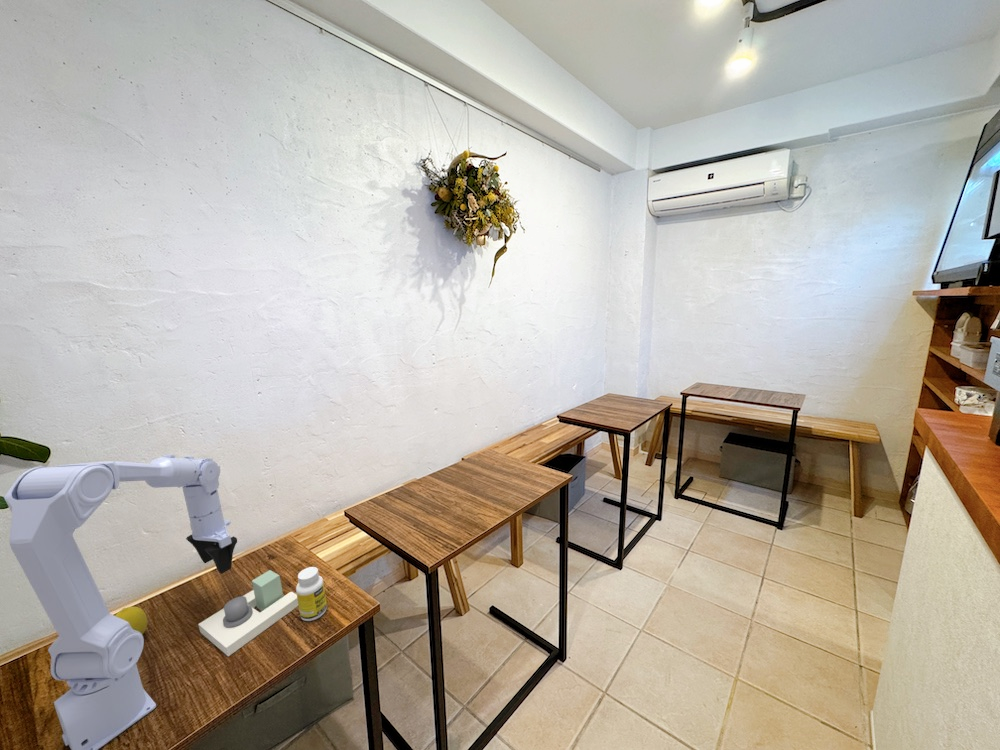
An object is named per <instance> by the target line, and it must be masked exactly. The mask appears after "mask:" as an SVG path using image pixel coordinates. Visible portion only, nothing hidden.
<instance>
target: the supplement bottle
mask: <svg viewBox="0 0 1000 750" xmlns="http://www.w3.org/2000/svg"><path fill="white" fill-rule="evenodd" d="M297 579H298V583H297V584H296V586H295V594H297V599H298V606H297V607H298V610H299V616H300V619H301V620H302V621H305V622H311V621H315V620H317V619H319V618H321V617H322V616H323V615H324V614H325V613H326V611H327V608H328V602H327V596H326V590H325V584H324V579H323V577H322V576H321V575H320V572H319V568H317V567H316V566H309V567H306V568H303V569H302V570H301V571H299V572H298V574H297Z"/></svg>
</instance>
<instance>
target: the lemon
mask: <svg viewBox="0 0 1000 750" xmlns="http://www.w3.org/2000/svg"><path fill="white" fill-rule="evenodd" d="M114 616H116V617H118V618H121V619H123V620H125V621H127V622H129V624H130V626H131V628H132V629H133V630H136V631H139V632H140V633H141V634H142V635H143V634H144V633H145V631H146V629H147V625H148V617H147V614H146V612H145V611H144V610H143V609H142V608H141V607H138V606H127V607H124V608H122V609H121V610H119V611H118V612H117V613H116V614H115V615H114Z"/></svg>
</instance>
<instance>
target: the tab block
mask: <svg viewBox="0 0 1000 750" xmlns="http://www.w3.org/2000/svg"><path fill="white" fill-rule="evenodd" d="M251 584H252V590H254V595H255V600H256V605H257V606H256V608H257V609H258V610H259V611H260V612H262V611H263V610H265V609H266V608H268V607H269V606H270V605H272V604H273V603H275V602H276V601H278V600H279V599H281V598H282V597H284V592H283V587H282V582H281V576H280V574H278V573H276V572H275V571H272V570H271V569H269V570H267V571H265V572H264V573H262V574H261V575H259V576H257V577H256V578H254V579H252V580H251Z"/></svg>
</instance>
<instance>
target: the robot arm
mask: <svg viewBox="0 0 1000 750" xmlns="http://www.w3.org/2000/svg"><path fill="white" fill-rule="evenodd" d="M194 457H195V456H191V455H190V456H189V455H188V456H184V458H183V457H181V458H180V457H176V454H163V455H162V456H161V457H157V458H155V459H153V460H151V461H150V462H149V463H147V462H134V461H120V460H110V461H109V460H108V461H107V460H106V461H92V462H91V461H90V462H81V463H71V464H60V465H56V466H45V465H44V466H37V467H32V468H30V469H28V470H26V471H24V472H23V473H22V474H20V475H19V476H18V477H17V478H16V480H14V482H13V484H12V485H11V487H9V489H8V491H7V492H6V493H5V495H4V497H3V499H4V501H5V502H6V504H7V506H8V508H9V510H10V513H11V514H10V515H11V518H10V532H9V545H10V549H11V550H12V552H13V554H14V556H15V558H16V559H17V562H18V564H19V565H20V567H21V569H22V571H23V573H24V575H25V577H26V578H27V580H28V581H29V583H30V585H31V588H32V589H33V590H34V593H35V595H36V597H37V599H38V600H39V601H40V604H41V606H42V607H43V610H44V611H45V613H46V615H47V616H48V618H49V620H50V622H51V624H52V625H53V628H54V630H55V631H56V633H57V635H58V636H57V638H56V639H55V640H54V641H53V642H52V643H51V645H50V646H49V647H48V649H47V652H48V653H49V655H50V659H51V662H50V675H51V676H52V678H53V679H55V680H56V681H66V683H67V686H68V688H69V690H67V691H66V692H65V693H64V694H63V695H61V696H60V697H58V698H57V699H55V700H54V701H53V705H54V708H55V711H56V714H57V717H58V720H59V723H60V724H59V725H60V727H61V729H62V732H63V734H62V735H61V737H62V740H63V743H64V744H65V746H66V747H67V746H69V748H70V750H99V749H101V748H102V747H103V746H105V745H106V744H108V743H109V742H110V741H112V740H113V739H115V738H116V737H117V736H119V735H120V734H121V733H123V732H124V731H126V730H127V729H128V728H130V727H131V726H133V725H134V724H135V723H137V722H138V721H140V720H141V719H143V718H144V717H145V716H146V715H148V714H149V713H151V712H152V711H153V710H155V708H157V703H156V702H155V700H153V699H152V697H151V696H150V695H149V694H148V693H147V691H146V690H145V689H144V686H143V683H142V680H141V677H140V673H139V668H138V665H137V663H138V661H139V660H140V657H141V655H142V652H143V649H144V644H145V639H144V636H143V634H141V633H140V632H139V631H136V630H133V629H132V628H131V626H130V624H129V622H127V621H125V620H123V619H121V618H118V617H116V616H115V615H114V614H112V613H111V612H110V611H109V609H108V607H107V604H106V602H105V601H104V598H103V596H102V594H101V592H100V590H99V588H98V586H97V584H96V581H95V579H94V577H93V575H92V573H91V571H90V569H89V567H88V565H87V562H86V561H85V558H84V556H83V555H82V552H81V551H80V548H79V546H78V544H77V542H76V539H75V538H74V536H73V534H74V532H75V531H76V530H77V529H78V528H80V527H82V526H83V524H85V522H87V521H88V519H89V518H90V517H91V516H92V515H93V514H94V512H95V511H96V510H97V509H98V508H99V507H100V506H101V505H102V503H103V502H105V500H106V499H107V498H108V497H109V495H110V493H111V492H112V490H117V489H118V488H119V485H120V483H121V482H122V483H123V482H141V481H142V482H143V481H144V482H145V483H146V484H147V485H148V486H149V487H150V488H151V487H152V488H179V489H180V488H182V491H183V497H184V500H185V504H186V510H187V513H188V514H187V515H188V517H189V521H190V523H189V526H190V531H191V534H190V535H188V536H186V538H185V539H186V541H188V542H189V543H190V544H191V545H192V546H193V547H194V549H195V550H196V552H197V554H198V555H199V557H200V559H201V560H202V562H203V563H204V564H207V563H209V562H211V561H213V562H214V565H215V567H216V569H217V571H218V572H219V574H224V573H226V572H227V571H229V570H231V569H232V565H233V554H234V550H235V547H236V545H237V543H238V538H237V537H236V536H232V537H231V535H230V534H229V533H228V528H227V527H228V526H230V525H231V523H232V522H231V520H230V519H224V514H223V510H222V505H221V500H220V497H219V496H220V495H219V492H218V489H219V488H220V487H219V486H220V483H219V482H220V481H219V480H220V479H219V478H220V473H221V465H219V464H218V463H217V461H215V460H213V458H194Z"/></svg>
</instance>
